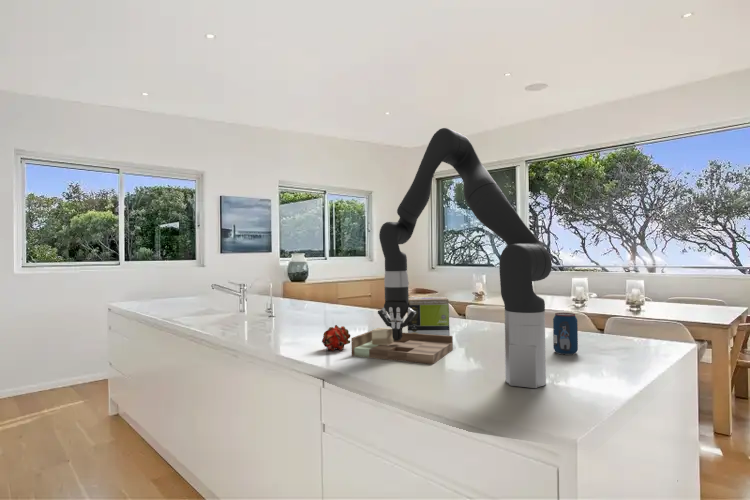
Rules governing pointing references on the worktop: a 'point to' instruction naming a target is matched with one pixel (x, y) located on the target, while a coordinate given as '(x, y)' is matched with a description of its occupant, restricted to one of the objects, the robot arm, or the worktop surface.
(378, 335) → the birch block
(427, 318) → the tea box
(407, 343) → the trap board
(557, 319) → the soda can
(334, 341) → the dragon fruit
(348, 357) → the worktop surface
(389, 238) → the robot arm
